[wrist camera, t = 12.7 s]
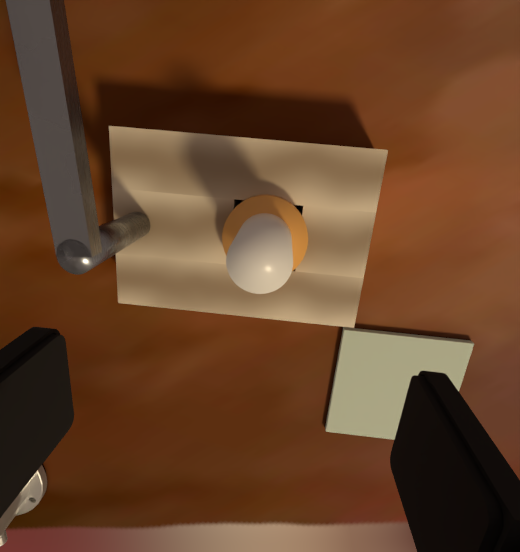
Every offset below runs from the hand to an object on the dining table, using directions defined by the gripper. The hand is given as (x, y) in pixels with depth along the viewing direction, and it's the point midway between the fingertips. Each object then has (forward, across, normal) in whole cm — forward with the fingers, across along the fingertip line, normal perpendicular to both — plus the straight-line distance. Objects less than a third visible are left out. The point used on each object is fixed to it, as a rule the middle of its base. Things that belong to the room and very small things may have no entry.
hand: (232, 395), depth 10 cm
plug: (+24, 0, 0) cm, 24 cm away
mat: (+23, -14, +15) cm, 31 cm away
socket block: (+23, +2, 0) cm, 24 cm away
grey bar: (+19, +11, -7) cm, 23 cm away
